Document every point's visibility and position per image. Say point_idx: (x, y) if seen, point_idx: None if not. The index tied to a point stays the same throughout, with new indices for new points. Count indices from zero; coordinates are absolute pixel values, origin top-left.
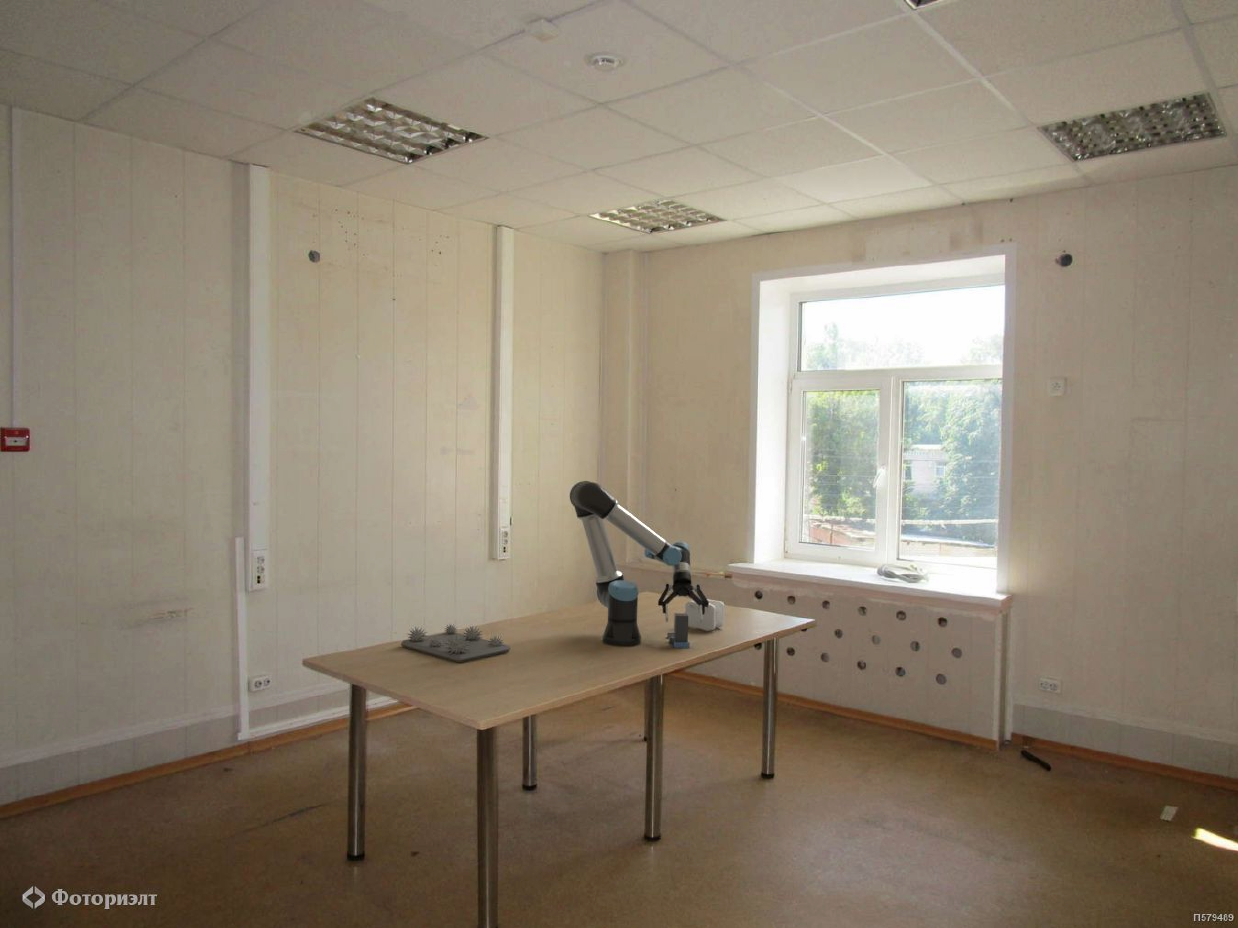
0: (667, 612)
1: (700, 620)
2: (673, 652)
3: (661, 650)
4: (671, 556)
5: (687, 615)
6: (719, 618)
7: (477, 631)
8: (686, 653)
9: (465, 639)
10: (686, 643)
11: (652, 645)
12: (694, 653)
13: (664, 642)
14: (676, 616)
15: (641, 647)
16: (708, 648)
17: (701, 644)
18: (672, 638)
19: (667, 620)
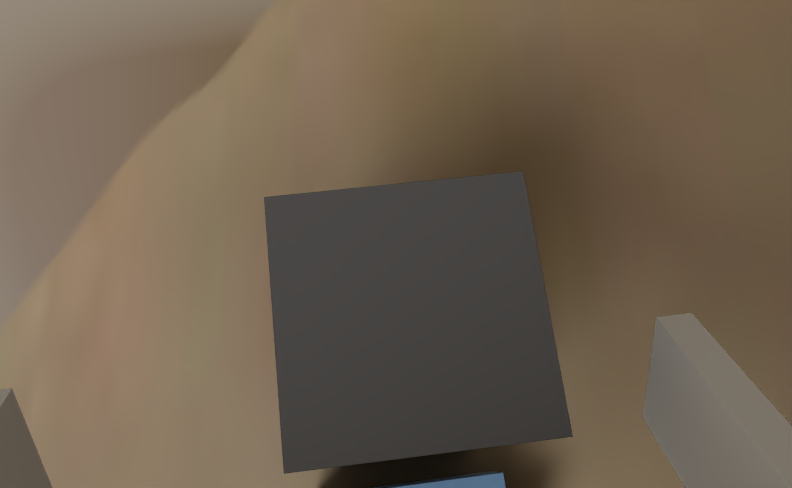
0: (730, 393)
1: (31, 443)
2: (451, 61)
3: (569, 113)
4: None
5: (281, 252)
6: None
7: None
8: (329, 48)
9: None
10: None
11: (688, 298)
12: (253, 61)
13: (581, 477)
14: (502, 179)
15: (777, 191)
16: (86, 287)
17: (143, 471)
18: (498, 472)
19: (652, 389)
